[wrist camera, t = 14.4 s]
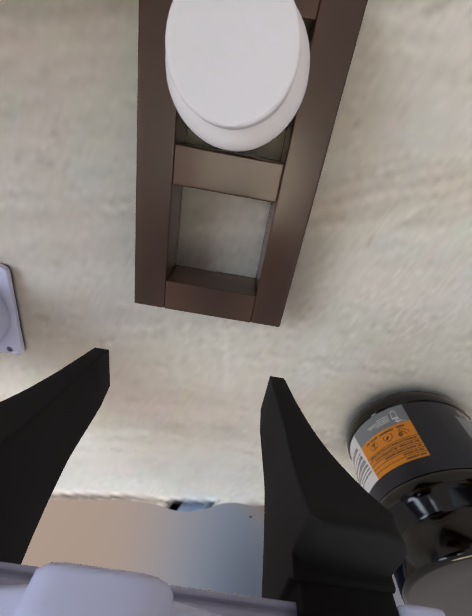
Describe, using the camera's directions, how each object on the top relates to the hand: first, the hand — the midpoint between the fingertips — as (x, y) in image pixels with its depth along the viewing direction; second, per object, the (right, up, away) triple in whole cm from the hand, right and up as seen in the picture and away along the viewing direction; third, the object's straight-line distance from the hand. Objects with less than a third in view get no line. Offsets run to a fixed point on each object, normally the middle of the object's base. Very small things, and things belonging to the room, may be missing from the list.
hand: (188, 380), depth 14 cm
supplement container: (+17, -8, +15) cm, 24 cm away
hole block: (+2, +12, +5) cm, 13 cm away
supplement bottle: (+3, +15, +4) cm, 16 cm away
